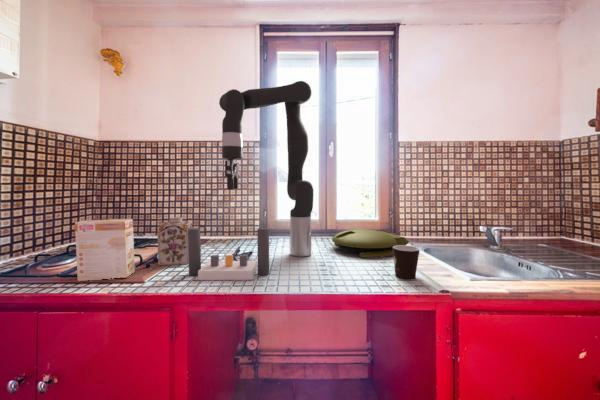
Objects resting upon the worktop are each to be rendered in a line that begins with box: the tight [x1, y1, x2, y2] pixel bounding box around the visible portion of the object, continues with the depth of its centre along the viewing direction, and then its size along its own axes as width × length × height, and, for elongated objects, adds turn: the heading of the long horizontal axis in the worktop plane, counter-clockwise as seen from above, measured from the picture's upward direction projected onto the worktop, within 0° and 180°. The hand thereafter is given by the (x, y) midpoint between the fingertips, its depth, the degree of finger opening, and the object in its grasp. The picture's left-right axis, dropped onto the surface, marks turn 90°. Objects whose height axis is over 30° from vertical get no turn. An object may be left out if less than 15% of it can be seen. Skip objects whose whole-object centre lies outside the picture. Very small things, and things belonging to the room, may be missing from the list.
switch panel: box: [197, 254, 258, 281], centre depth 100 cm, size 18×12×7 cm, turn 92°
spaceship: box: [331, 228, 410, 260], centre depth 137 cm, size 35×31×10 cm
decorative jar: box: [156, 216, 195, 266], centre depth 116 cm, size 12×12×18 cm
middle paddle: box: [224, 254, 234, 266], centre depth 100 cm, size 2×2×4 cm
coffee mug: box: [392, 245, 420, 281], centre depth 98 cm, size 12×9×10 cm
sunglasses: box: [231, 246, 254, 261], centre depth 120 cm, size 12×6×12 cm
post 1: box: [188, 227, 202, 277], centre depth 99 cm, size 4×4×16 cm
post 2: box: [256, 227, 270, 277], centre depth 100 cm, size 4×4×16 cm
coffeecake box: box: [74, 218, 136, 282], centre depth 96 cm, size 15×7×20 cm, turn 100°
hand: (232, 189), depth 107 cm, fingers open, 8 cm apart
